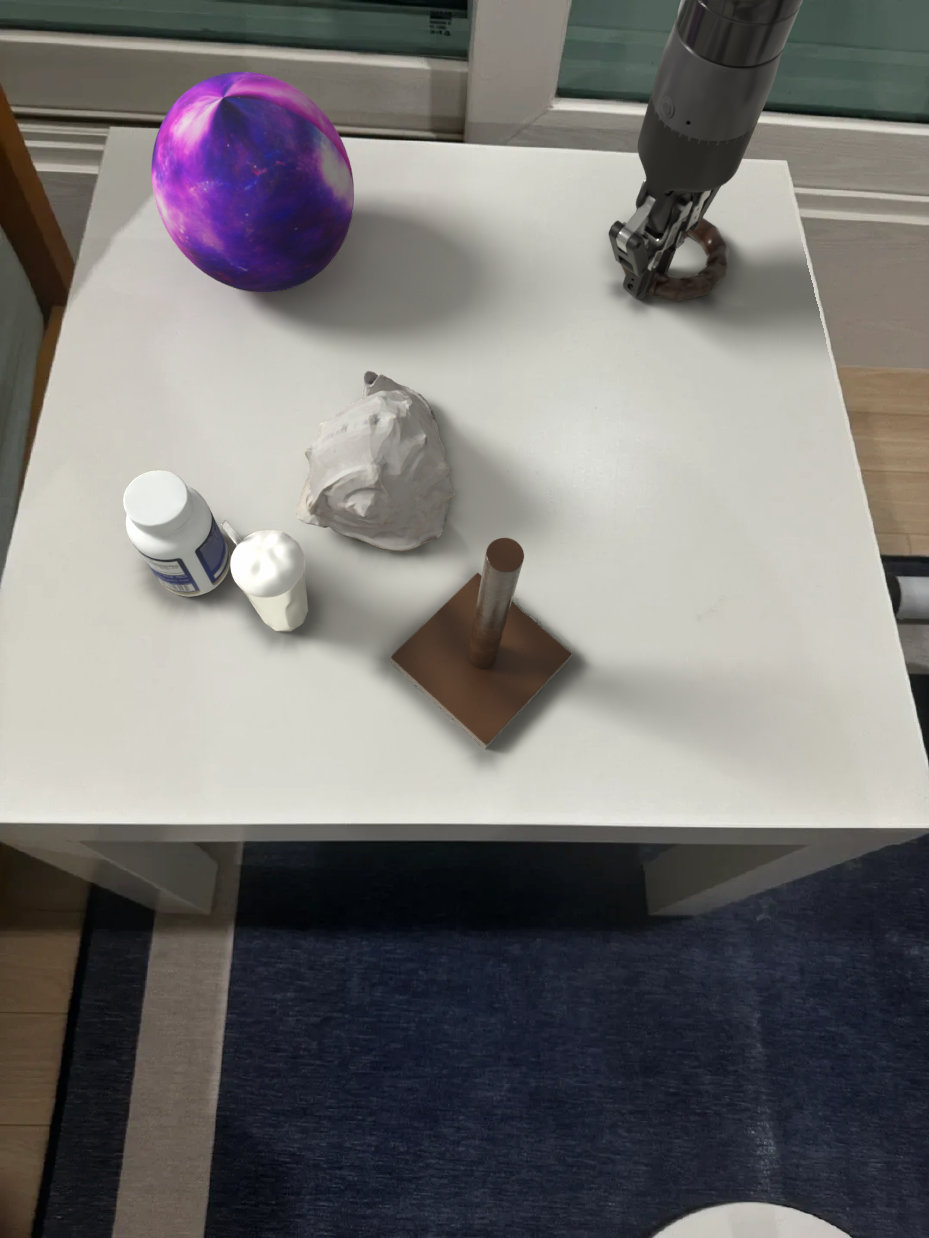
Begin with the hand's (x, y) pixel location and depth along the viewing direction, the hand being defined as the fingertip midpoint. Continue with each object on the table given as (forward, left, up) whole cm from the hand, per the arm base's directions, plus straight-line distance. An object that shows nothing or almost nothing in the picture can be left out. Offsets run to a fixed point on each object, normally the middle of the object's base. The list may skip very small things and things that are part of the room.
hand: (643, 283), depth 74 cm
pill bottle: (+44, -7, 0) cm, 45 cm away
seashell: (+30, -3, 0) cm, 30 cm away
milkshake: (+42, 0, 0) cm, 42 cm away
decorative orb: (+21, -24, 0) cm, 32 cm away
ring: (-4, 0, +1) cm, 4 cm away
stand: (+35, +13, 0) cm, 38 cm away
